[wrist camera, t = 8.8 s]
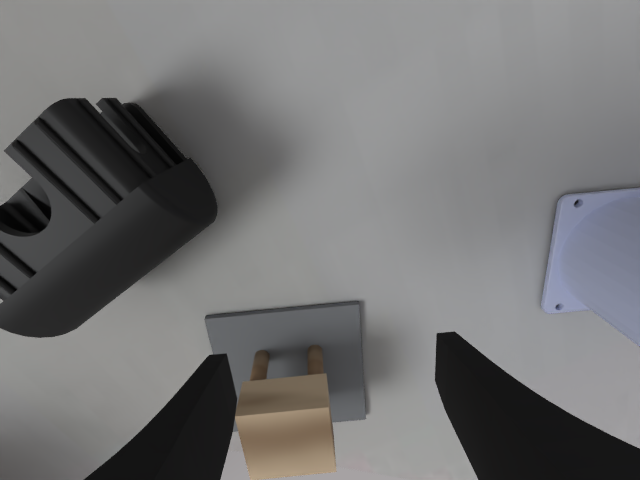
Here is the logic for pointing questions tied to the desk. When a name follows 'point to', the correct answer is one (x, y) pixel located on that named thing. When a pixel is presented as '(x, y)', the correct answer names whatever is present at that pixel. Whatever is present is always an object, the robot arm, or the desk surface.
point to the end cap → (92, 213)
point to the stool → (286, 421)
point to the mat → (297, 348)
